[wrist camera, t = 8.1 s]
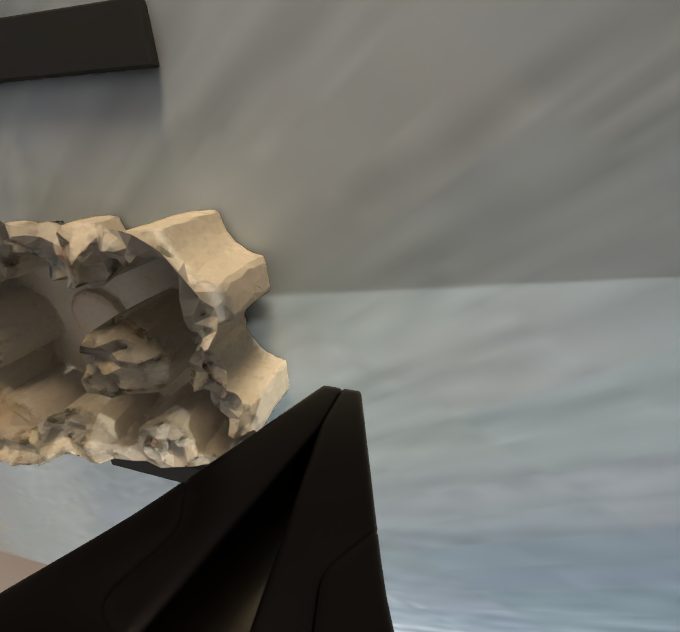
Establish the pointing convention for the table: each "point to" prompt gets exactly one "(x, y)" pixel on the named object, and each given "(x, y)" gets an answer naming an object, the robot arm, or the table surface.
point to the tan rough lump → (130, 341)
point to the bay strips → (77, 59)
